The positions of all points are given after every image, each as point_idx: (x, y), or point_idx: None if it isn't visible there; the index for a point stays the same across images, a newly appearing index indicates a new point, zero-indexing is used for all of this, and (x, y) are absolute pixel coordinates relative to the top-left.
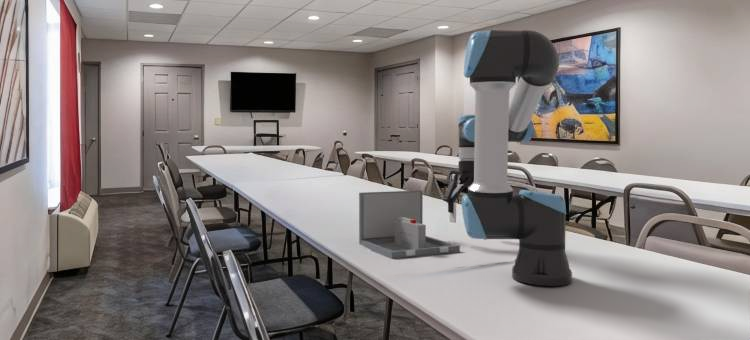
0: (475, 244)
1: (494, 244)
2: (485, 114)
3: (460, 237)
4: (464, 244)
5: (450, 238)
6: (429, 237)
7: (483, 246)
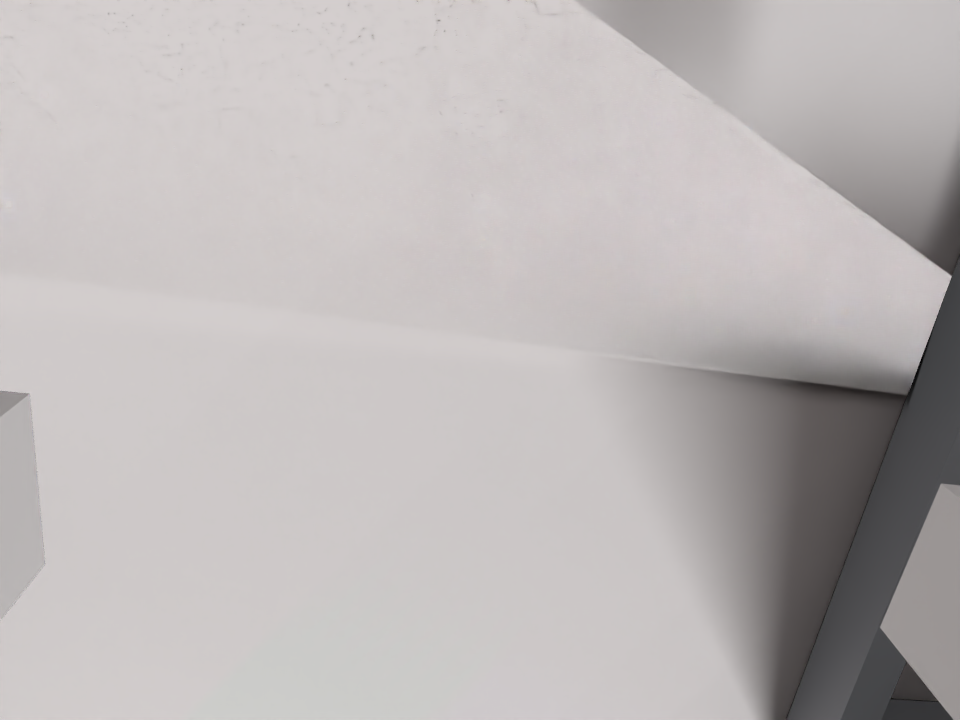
0: (442, 247)
1: (180, 81)
2: None
3: (255, 703)
4: (571, 329)
5: (412, 706)
6: (889, 642)
7: (459, 52)
